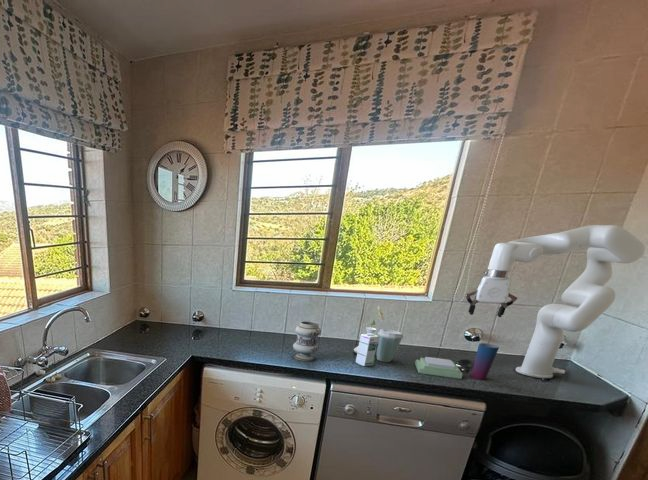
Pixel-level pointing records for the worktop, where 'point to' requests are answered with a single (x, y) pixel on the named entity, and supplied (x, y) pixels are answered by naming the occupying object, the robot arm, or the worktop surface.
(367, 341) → the syrup box
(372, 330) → the flower in vase
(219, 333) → the worktop surface
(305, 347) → the apothecary jar
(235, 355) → the worktop surface
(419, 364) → the scale
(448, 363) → the scale pan
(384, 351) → the disposable coffee cup
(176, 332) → the worktop surface
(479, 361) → the cup
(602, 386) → the worktop surface
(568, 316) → the robot arm
